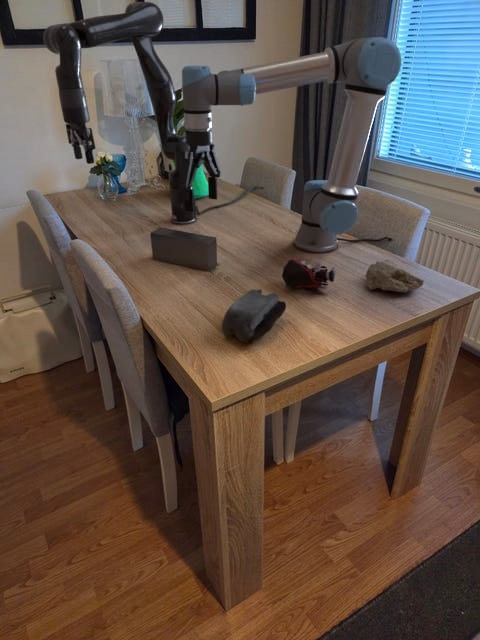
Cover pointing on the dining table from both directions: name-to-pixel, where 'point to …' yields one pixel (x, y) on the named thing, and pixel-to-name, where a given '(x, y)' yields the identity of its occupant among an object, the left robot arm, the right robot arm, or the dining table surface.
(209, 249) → the box
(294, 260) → the toy
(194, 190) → the toy
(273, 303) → the dark grey pouch
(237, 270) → the dining table surface
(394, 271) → the artifact
